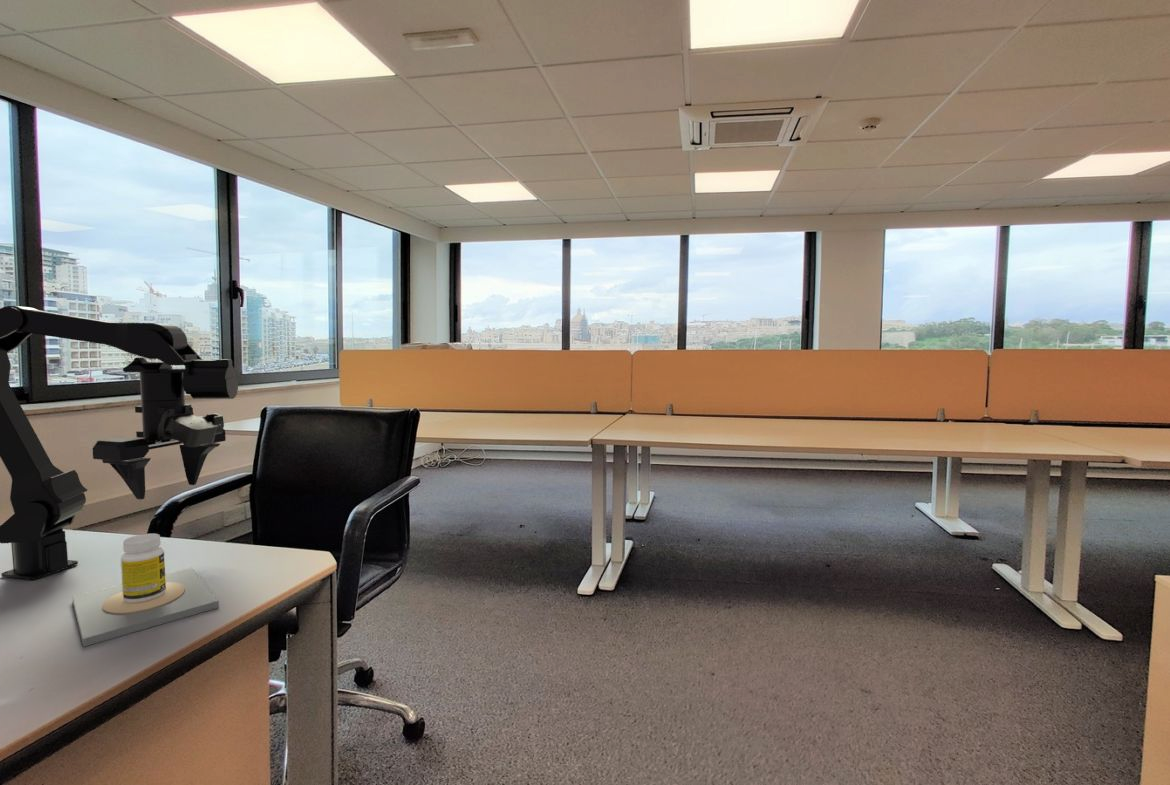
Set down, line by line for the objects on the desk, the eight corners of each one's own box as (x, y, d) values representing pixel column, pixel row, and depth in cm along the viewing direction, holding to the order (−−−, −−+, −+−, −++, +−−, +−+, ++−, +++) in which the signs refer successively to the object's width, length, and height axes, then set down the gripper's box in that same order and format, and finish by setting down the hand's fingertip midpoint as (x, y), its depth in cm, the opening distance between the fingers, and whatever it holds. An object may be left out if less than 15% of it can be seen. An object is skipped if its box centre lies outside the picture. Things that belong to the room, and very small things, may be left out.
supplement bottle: (169, 596, 76) (166, 538, 75) (125, 607, 72) (121, 547, 72) (162, 585, 79) (159, 529, 78) (120, 595, 76) (117, 537, 75)
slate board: (72, 602, 76) (72, 593, 76) (192, 573, 86) (192, 565, 86) (83, 646, 65) (82, 636, 65) (218, 607, 76) (218, 598, 75)
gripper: (148, 407, 78) (154, 511, 80) (250, 396, 97) (253, 481, 98) (86, 404, 80) (92, 506, 82) (197, 394, 99) (201, 477, 100)
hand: (167, 491), depth 90 cm, fingers open, 9 cm apart
